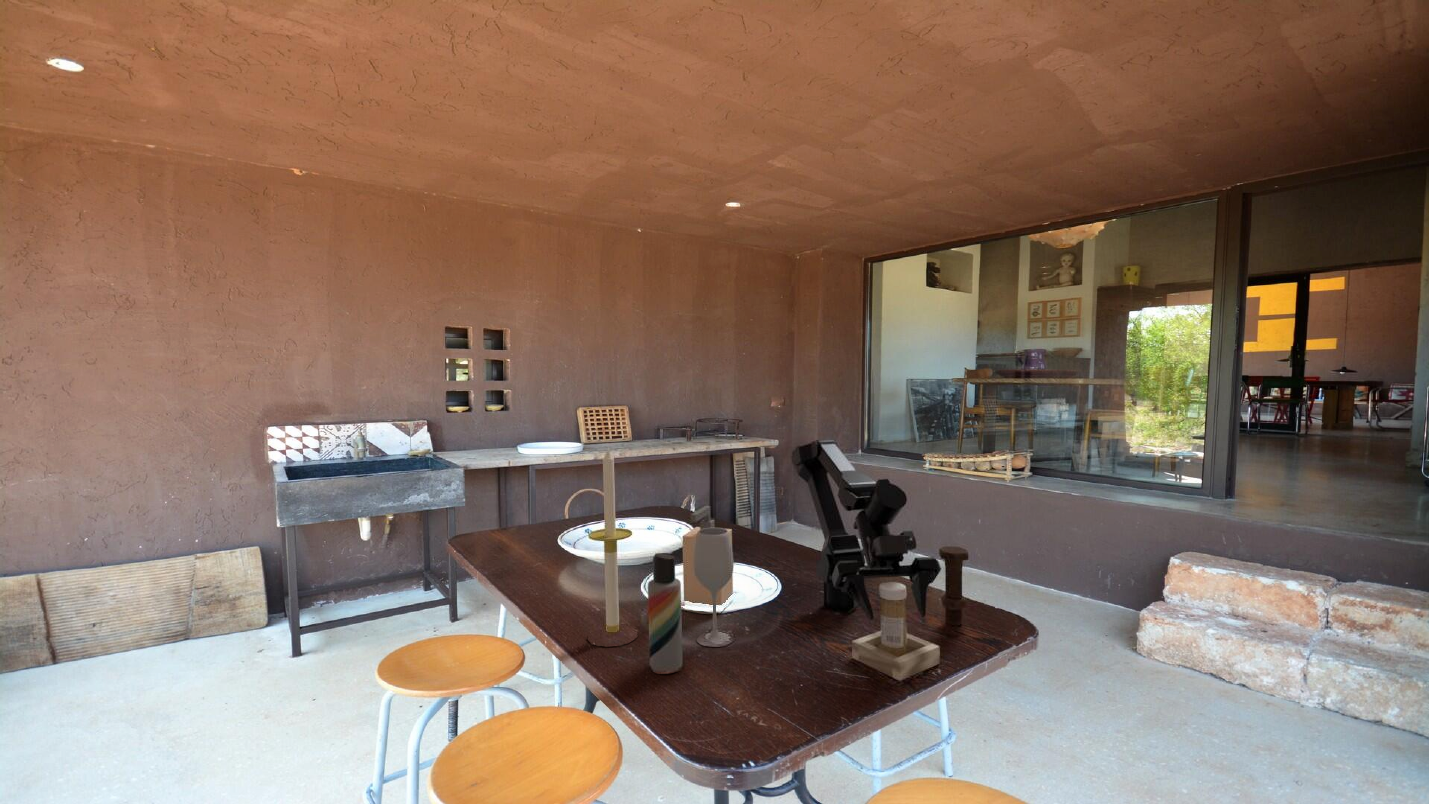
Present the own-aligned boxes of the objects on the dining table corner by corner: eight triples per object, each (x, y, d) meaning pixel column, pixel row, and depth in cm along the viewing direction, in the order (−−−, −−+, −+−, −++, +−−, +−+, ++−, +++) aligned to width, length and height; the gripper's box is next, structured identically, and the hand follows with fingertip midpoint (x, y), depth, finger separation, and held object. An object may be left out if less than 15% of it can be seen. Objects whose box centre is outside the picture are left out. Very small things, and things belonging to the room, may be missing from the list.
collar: (899, 680, 102) (899, 663, 102) (852, 657, 111) (852, 641, 111) (939, 663, 108) (939, 646, 108) (891, 642, 117) (891, 626, 117)
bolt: (970, 630, 122) (969, 554, 121) (942, 628, 123) (942, 553, 122) (964, 618, 128) (964, 546, 127) (938, 617, 129) (938, 545, 128)
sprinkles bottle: (911, 659, 110) (910, 583, 110) (902, 669, 106) (901, 591, 106) (885, 653, 113) (884, 579, 112) (876, 662, 109) (875, 586, 109)
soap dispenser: (697, 596, 143) (695, 501, 143) (733, 600, 141) (731, 503, 140) (676, 617, 131) (673, 513, 131) (714, 621, 129) (712, 515, 128)
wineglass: (739, 634, 122) (737, 527, 121) (727, 650, 115) (725, 537, 114) (703, 629, 125) (701, 525, 124) (689, 645, 117) (687, 535, 117)
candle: (576, 637, 122) (571, 446, 120) (617, 622, 129) (612, 441, 128) (608, 652, 115) (602, 450, 114) (649, 635, 122) (644, 445, 121)
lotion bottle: (650, 661, 111) (647, 550, 110) (682, 659, 112) (679, 548, 111) (649, 676, 106) (646, 559, 105) (683, 674, 106) (680, 558, 105)
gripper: (835, 517, 112) (855, 599, 101) (936, 513, 113) (965, 594, 103) (824, 548, 120) (841, 627, 110) (918, 544, 122) (944, 622, 111)
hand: (898, 617), depth 108 cm, fingers open, 9 cm apart
